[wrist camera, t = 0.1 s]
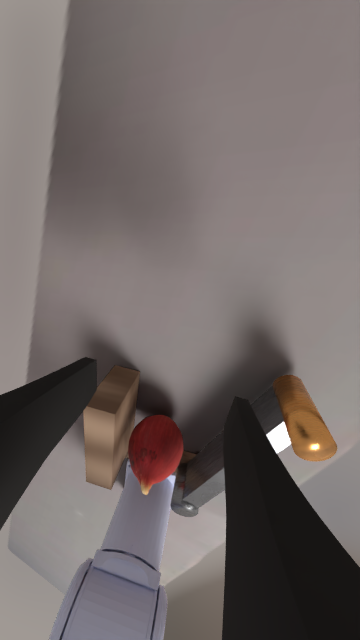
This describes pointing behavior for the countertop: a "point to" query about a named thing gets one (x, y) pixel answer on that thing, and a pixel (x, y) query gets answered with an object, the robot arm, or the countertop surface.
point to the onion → (154, 450)
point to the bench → (112, 426)
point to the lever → (279, 426)
